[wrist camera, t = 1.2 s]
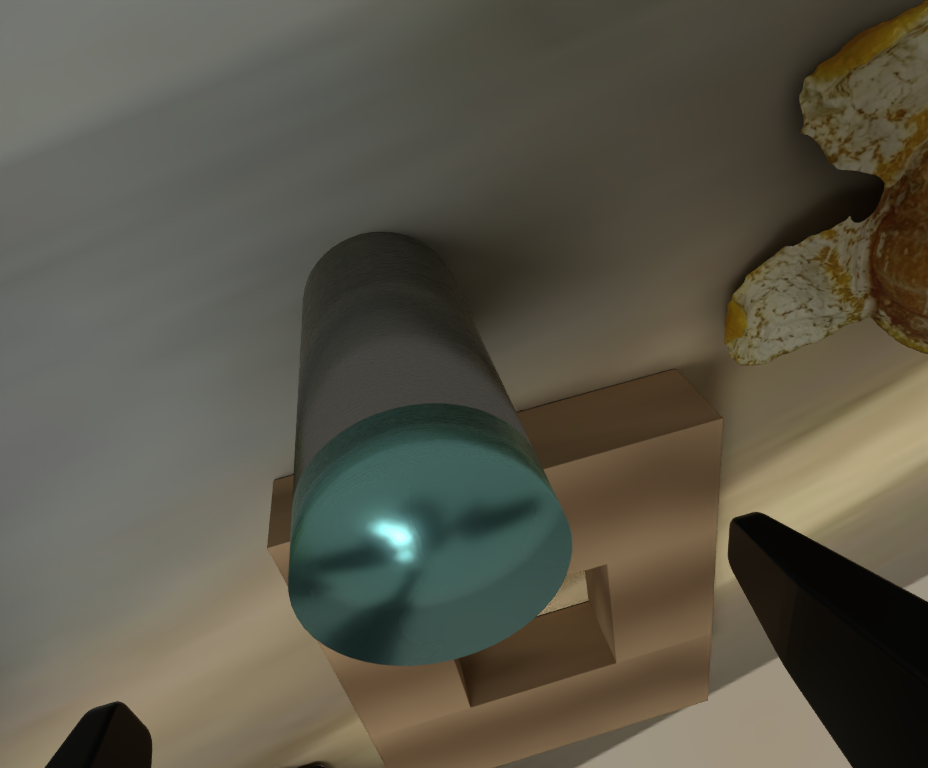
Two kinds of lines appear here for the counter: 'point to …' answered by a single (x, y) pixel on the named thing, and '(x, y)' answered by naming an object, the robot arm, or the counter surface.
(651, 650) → the dock
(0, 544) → the counter surface
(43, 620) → the counter surface
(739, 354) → the fruit
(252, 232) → the counter surface
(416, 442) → the grey and teal cylinder
